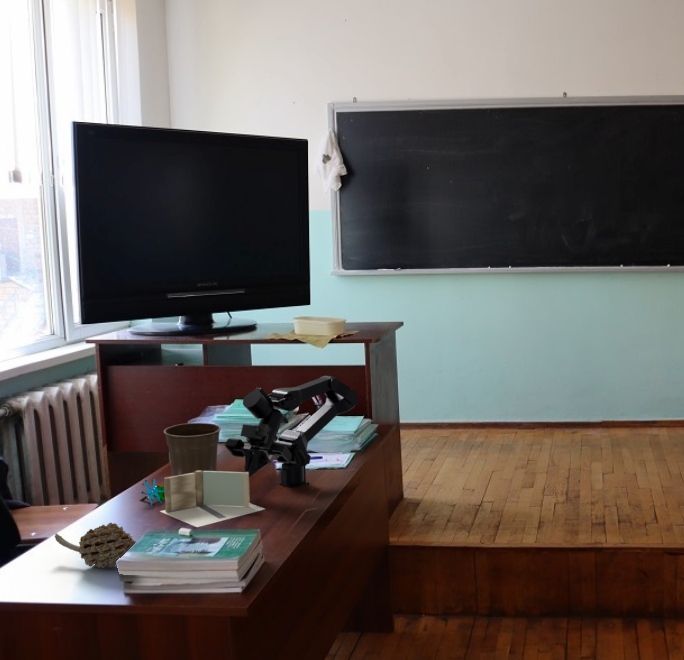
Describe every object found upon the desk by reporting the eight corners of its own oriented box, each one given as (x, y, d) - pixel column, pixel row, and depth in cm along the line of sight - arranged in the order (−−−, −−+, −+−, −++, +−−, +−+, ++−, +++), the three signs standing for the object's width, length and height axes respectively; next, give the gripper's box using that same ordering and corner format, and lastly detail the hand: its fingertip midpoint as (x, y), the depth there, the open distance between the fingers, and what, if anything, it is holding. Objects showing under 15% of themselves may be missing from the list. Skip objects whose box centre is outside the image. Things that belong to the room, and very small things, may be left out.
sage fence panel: (203, 504, 257) (202, 471, 255) (205, 503, 258) (204, 470, 257) (248, 506, 254) (247, 473, 253) (249, 505, 255) (248, 472, 254)
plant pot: (207, 493, 269) (204, 436, 267) (155, 489, 275) (153, 433, 273) (232, 478, 285) (230, 424, 283) (183, 474, 290) (180, 421, 288)
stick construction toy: (150, 502, 255) (142, 476, 259) (133, 513, 258) (125, 488, 261) (180, 503, 265) (172, 478, 268) (163, 514, 267) (156, 490, 271)
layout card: (226, 496, 267) (226, 494, 267) (265, 510, 253) (265, 508, 253) (159, 512, 253) (159, 511, 253) (197, 528, 239) (197, 527, 239)
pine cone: (147, 562, 217) (145, 519, 216) (124, 578, 208) (122, 533, 207) (63, 553, 224) (61, 511, 223) (37, 567, 215) (35, 524, 214)
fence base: (201, 503, 259) (200, 470, 258) (205, 505, 257) (203, 471, 256) (164, 510, 253) (163, 476, 252) (167, 512, 251) (166, 478, 250)
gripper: (227, 409, 266) (204, 457, 258) (285, 414, 257) (263, 465, 249) (244, 431, 274) (223, 479, 266) (301, 437, 265) (280, 487, 257)
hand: (246, 477), depth 259 cm, fingers closed
